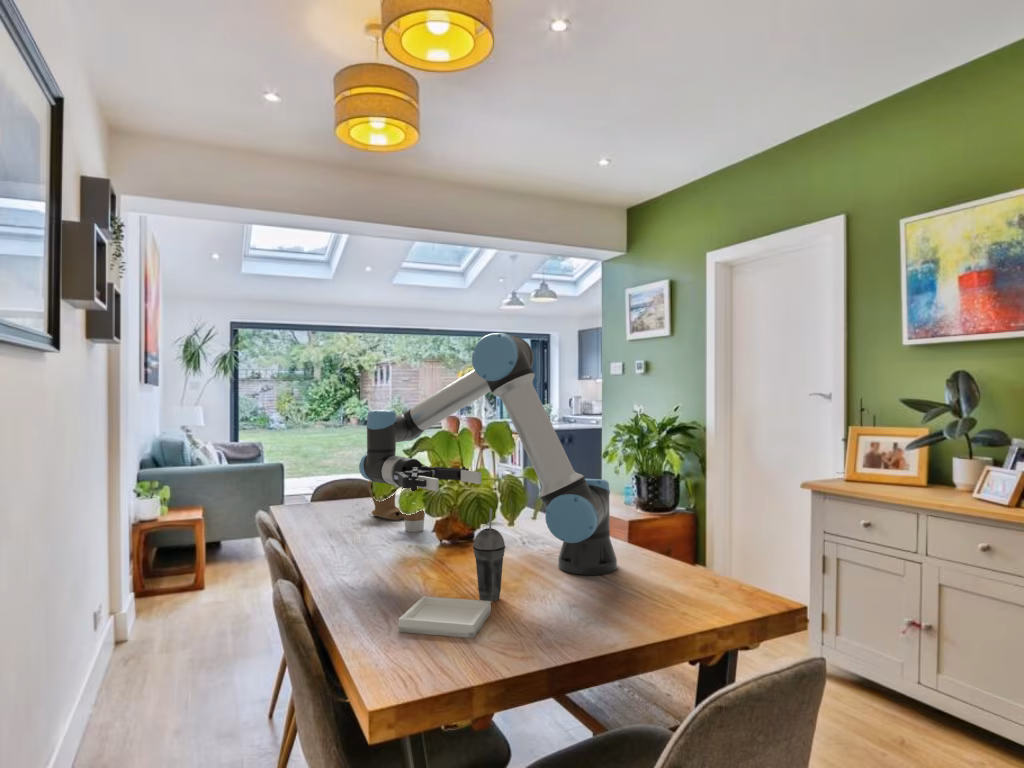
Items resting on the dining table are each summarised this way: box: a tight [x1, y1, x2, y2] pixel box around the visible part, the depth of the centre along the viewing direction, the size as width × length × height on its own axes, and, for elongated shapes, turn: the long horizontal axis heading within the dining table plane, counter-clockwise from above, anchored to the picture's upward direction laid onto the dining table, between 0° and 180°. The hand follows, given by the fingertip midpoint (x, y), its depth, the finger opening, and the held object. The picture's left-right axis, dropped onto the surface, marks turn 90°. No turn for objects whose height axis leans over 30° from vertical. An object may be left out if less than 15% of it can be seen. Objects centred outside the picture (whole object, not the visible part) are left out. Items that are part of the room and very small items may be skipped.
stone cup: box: [367, 480, 404, 521], centre depth 222 cm, size 15×12×15 cm
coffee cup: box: [401, 487, 426, 533], centre depth 203 cm, size 8×8×15 cm
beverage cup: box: [472, 507, 506, 602], centre depth 137 cm, size 7×7×20 cm
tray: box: [398, 595, 492, 639], centre depth 124 cm, size 15×13×2 cm
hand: (459, 481), depth 144 cm, fingers open, 13 cm apart
